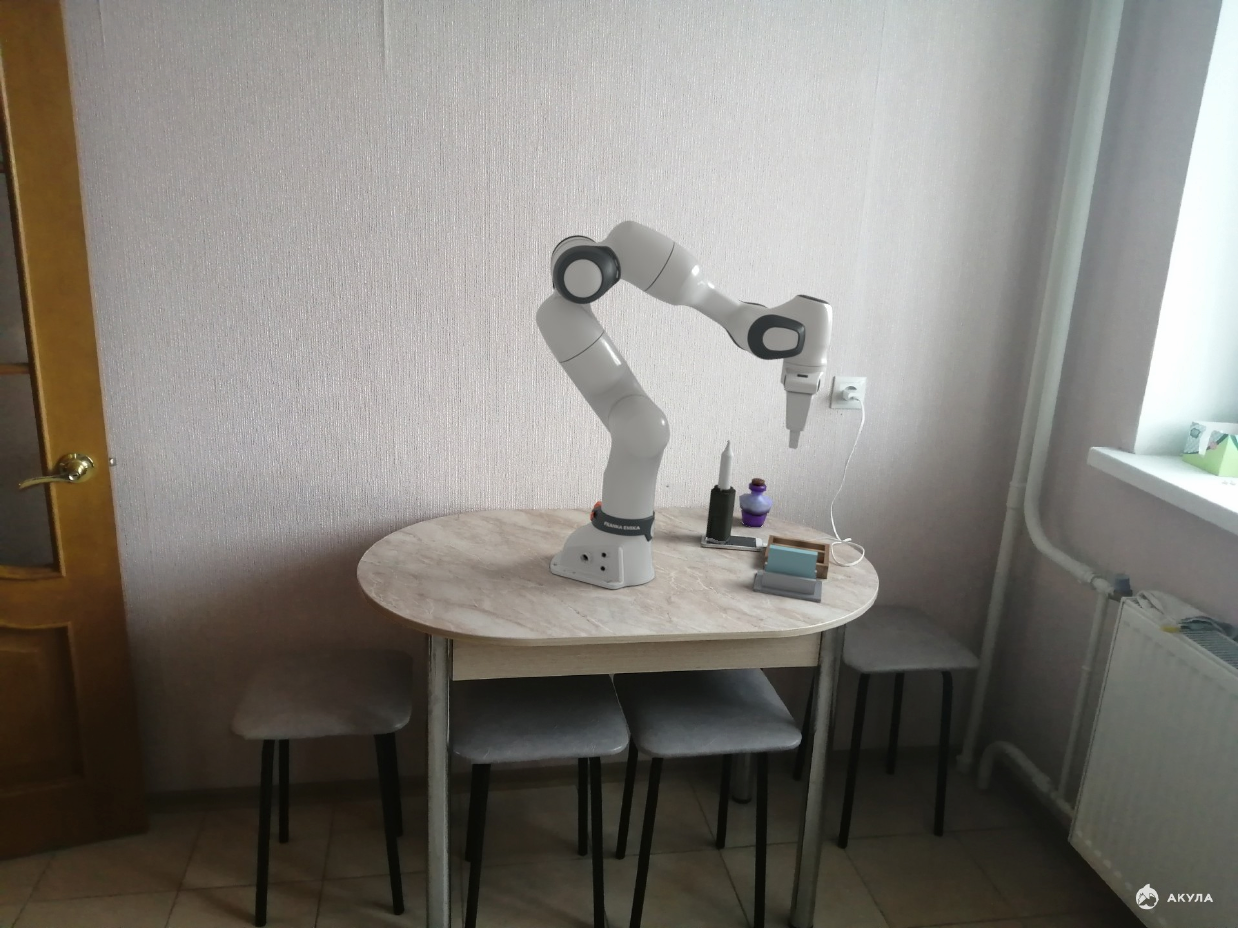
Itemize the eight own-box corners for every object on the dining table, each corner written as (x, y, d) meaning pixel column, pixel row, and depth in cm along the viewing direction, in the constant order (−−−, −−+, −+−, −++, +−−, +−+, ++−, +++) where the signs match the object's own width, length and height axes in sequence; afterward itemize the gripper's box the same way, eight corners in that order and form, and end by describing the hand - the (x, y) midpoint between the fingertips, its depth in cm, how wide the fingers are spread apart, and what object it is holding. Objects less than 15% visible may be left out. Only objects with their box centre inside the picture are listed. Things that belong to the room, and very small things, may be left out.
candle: (731, 539, 214) (743, 440, 207) (723, 545, 210) (735, 444, 202) (711, 534, 216) (723, 435, 209) (703, 540, 212) (715, 440, 205)
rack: (763, 568, 198) (764, 556, 197) (768, 546, 211) (769, 534, 211) (826, 578, 195) (828, 566, 195) (827, 555, 208) (829, 544, 208)
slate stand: (753, 590, 186) (755, 575, 185) (757, 572, 196) (759, 557, 195) (820, 602, 183) (823, 586, 182) (821, 583, 193) (824, 568, 192)
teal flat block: (764, 582, 189) (769, 547, 187) (765, 578, 191) (770, 544, 189) (812, 590, 187) (817, 555, 185) (812, 586, 189) (817, 551, 187)
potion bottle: (770, 521, 229) (776, 477, 225) (768, 532, 221) (774, 486, 217) (737, 516, 230) (743, 472, 227) (734, 527, 222) (739, 481, 219)
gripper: (790, 366, 190) (782, 428, 194) (784, 383, 171) (775, 452, 175) (820, 370, 189) (811, 432, 193) (817, 387, 170) (807, 456, 174)
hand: (794, 442), depth 184 cm, fingers open, 8 cm apart
